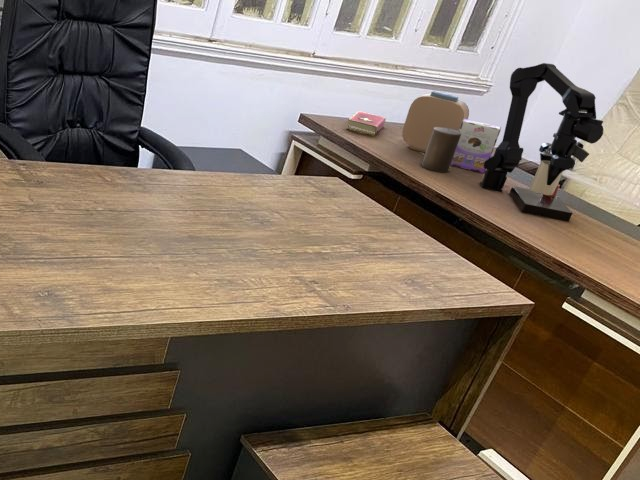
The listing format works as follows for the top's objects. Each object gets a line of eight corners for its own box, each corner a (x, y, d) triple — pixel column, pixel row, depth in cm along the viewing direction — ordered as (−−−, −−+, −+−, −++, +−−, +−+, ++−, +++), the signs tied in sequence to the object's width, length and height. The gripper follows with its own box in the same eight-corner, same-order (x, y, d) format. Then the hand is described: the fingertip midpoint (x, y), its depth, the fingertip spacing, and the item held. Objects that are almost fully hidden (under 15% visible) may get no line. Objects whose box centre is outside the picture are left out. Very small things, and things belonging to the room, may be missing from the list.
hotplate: (521, 212, 257) (525, 203, 255) (508, 193, 274) (512, 184, 273) (570, 222, 256) (574, 213, 254) (554, 202, 273) (557, 193, 271)
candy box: (485, 170, 297) (502, 126, 288) (484, 173, 292) (501, 129, 284) (447, 161, 301) (463, 117, 292) (446, 164, 296) (462, 120, 288)
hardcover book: (383, 127, 335) (386, 117, 333) (374, 136, 318) (377, 125, 316) (355, 120, 339) (358, 110, 336) (345, 129, 322) (348, 118, 320)
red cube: (556, 198, 266) (561, 185, 264) (544, 195, 267) (549, 183, 264) (553, 194, 270) (558, 182, 268) (541, 192, 270) (546, 180, 268)
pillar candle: (447, 174, 284) (463, 132, 276) (420, 168, 287) (434, 126, 279) (448, 167, 292) (463, 127, 284) (421, 161, 295) (435, 121, 286)
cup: (532, 192, 255) (544, 165, 250) (527, 185, 261) (538, 158, 256) (555, 196, 254) (567, 169, 250) (549, 189, 261) (561, 163, 256)
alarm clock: (454, 155, 310) (475, 99, 298) (449, 159, 303) (470, 102, 291) (404, 141, 318) (422, 86, 307) (397, 145, 311) (415, 88, 299)
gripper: (602, 146, 239) (579, 195, 248) (584, 131, 255) (563, 178, 263) (564, 138, 240) (543, 188, 249) (549, 124, 256) (529, 171, 264)
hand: (545, 181), depth 256 cm, fingers closed on cup, 7 cm apart
